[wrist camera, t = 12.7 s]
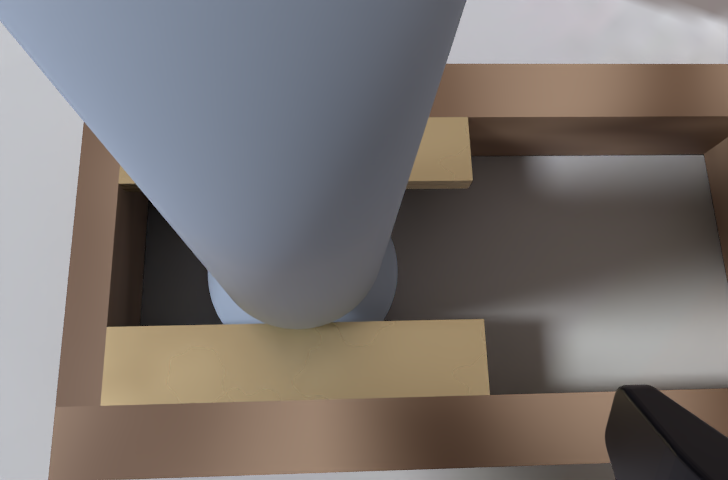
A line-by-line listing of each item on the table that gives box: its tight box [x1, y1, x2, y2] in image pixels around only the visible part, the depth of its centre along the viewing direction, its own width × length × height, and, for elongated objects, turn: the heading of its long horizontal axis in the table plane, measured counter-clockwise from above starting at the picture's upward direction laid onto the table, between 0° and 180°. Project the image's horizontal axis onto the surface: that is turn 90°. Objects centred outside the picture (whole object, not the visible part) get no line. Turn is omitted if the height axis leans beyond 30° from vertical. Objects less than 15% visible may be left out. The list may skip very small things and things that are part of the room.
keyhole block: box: [48, 64, 728, 480], centre depth 17 cm, size 19×10×3 cm, turn 92°
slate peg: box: [0, 0, 466, 329], centre depth 11 cm, size 5×5×16 cm
